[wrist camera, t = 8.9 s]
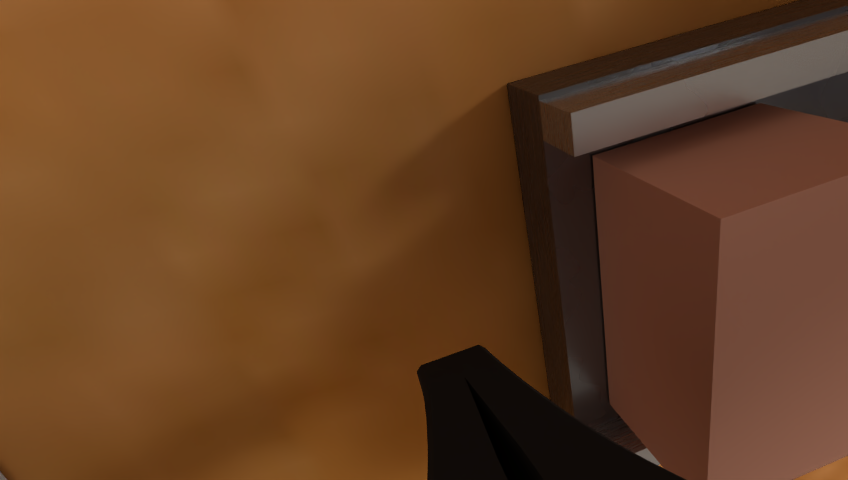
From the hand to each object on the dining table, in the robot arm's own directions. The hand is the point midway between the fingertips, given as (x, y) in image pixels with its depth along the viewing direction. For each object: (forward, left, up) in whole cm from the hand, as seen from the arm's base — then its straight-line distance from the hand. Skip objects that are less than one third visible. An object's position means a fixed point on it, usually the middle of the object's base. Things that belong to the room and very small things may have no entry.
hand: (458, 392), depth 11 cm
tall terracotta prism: (-6, 0, -1) cm, 6 cm away
